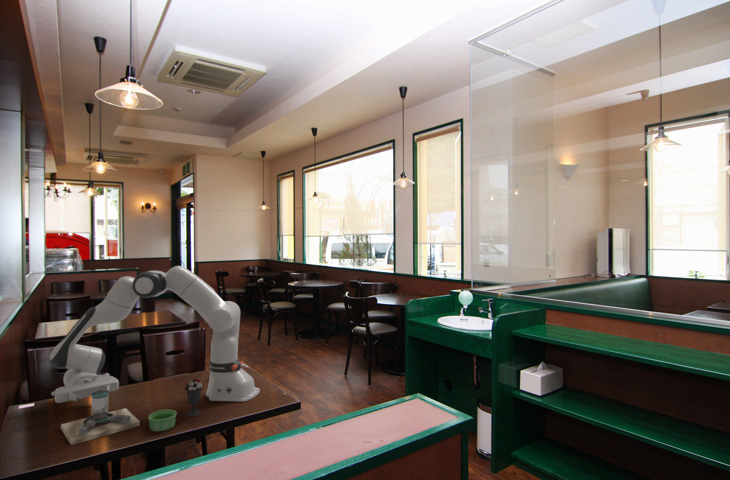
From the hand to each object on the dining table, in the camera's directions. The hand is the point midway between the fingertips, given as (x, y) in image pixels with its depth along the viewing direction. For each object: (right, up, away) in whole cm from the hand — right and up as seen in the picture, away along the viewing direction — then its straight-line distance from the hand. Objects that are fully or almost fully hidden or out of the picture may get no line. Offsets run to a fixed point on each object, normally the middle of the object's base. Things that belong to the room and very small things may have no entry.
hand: (92, 395), depth 149 cm
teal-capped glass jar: (+7, -7, -6) cm, 11 cm away
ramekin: (+29, -9, -6) cm, 31 cm away
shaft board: (+8, -8, -8) cm, 14 cm away
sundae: (+35, -9, +5) cm, 37 cm away
